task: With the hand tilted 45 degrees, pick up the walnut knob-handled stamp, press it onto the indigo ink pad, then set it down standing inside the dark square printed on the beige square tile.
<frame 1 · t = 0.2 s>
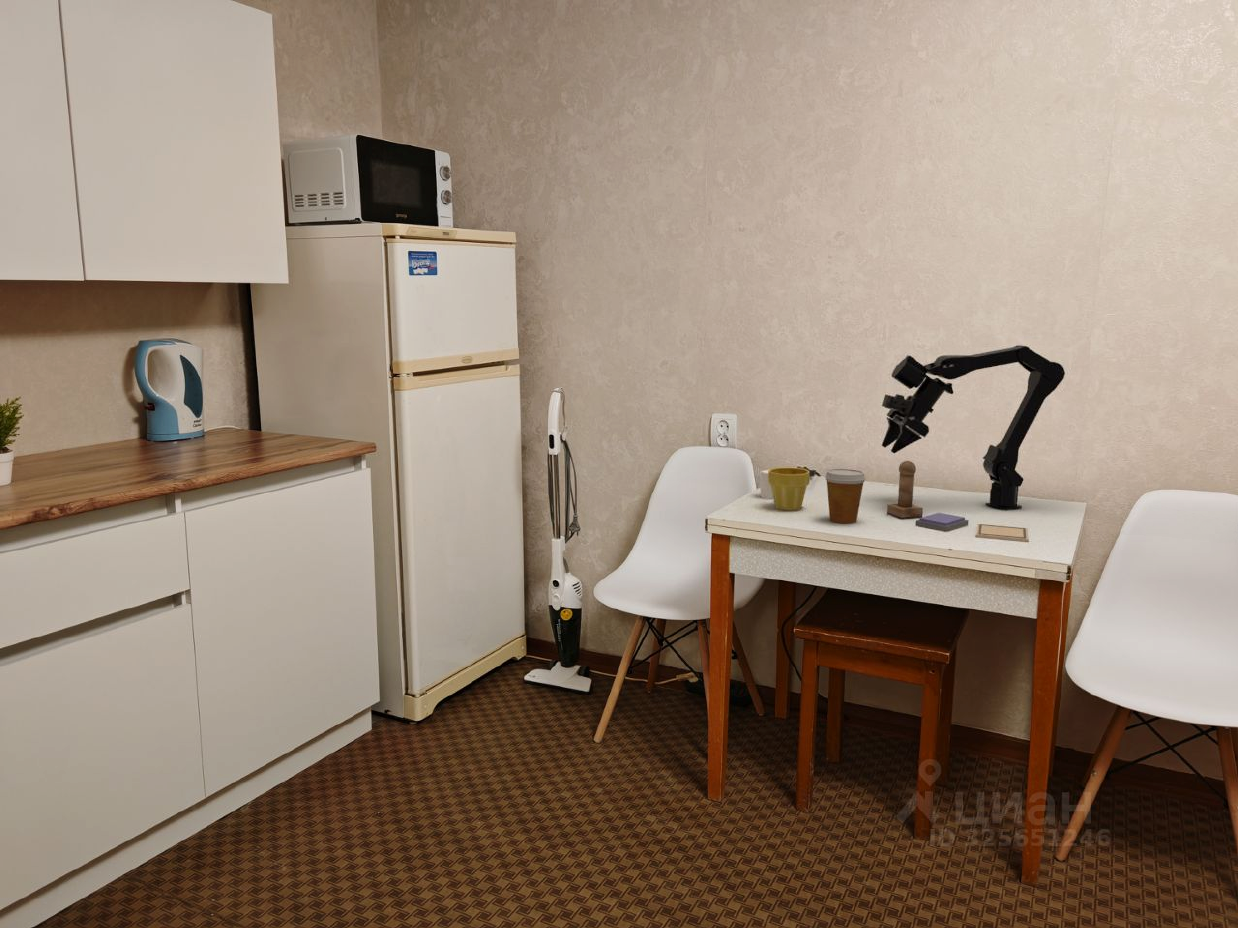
hand: (887, 449, 241), 15 cm above the table, tool tilted 35°, fingers open, 9 cm apart
disposable coffee cup: (842, 521, 227), on the table
beige square tile: (1001, 533, 215), on the table
ink pad: (941, 525, 223), on the table
plant pot: (787, 508, 240), on the table
white cube: (771, 497, 253), on the table
stamp: (904, 516, 232), on the table
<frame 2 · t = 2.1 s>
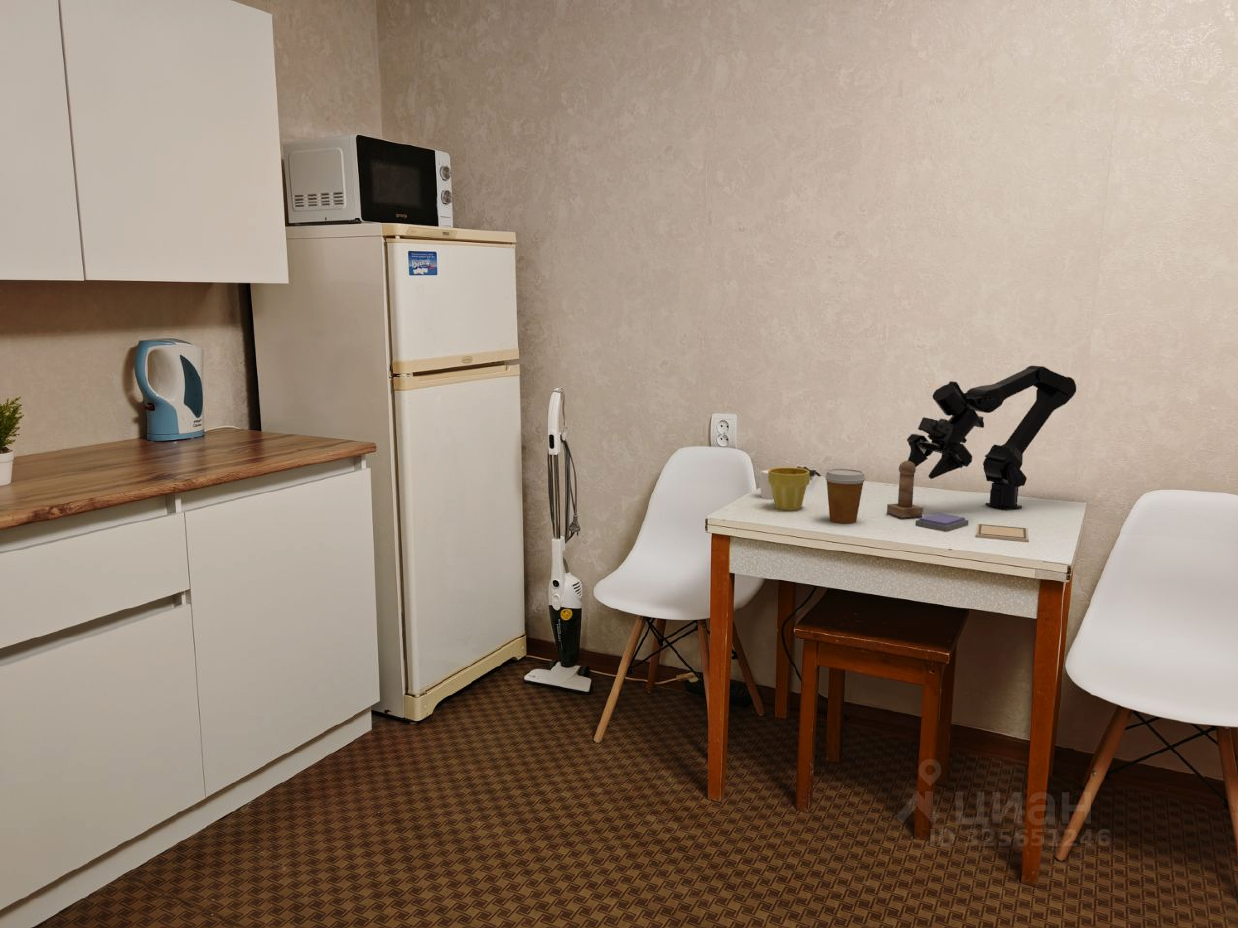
hand: (917, 474, 231), 10 cm above the table, tool tilted 45°, fingers open, 9 cm apart
nothing on the table moved.
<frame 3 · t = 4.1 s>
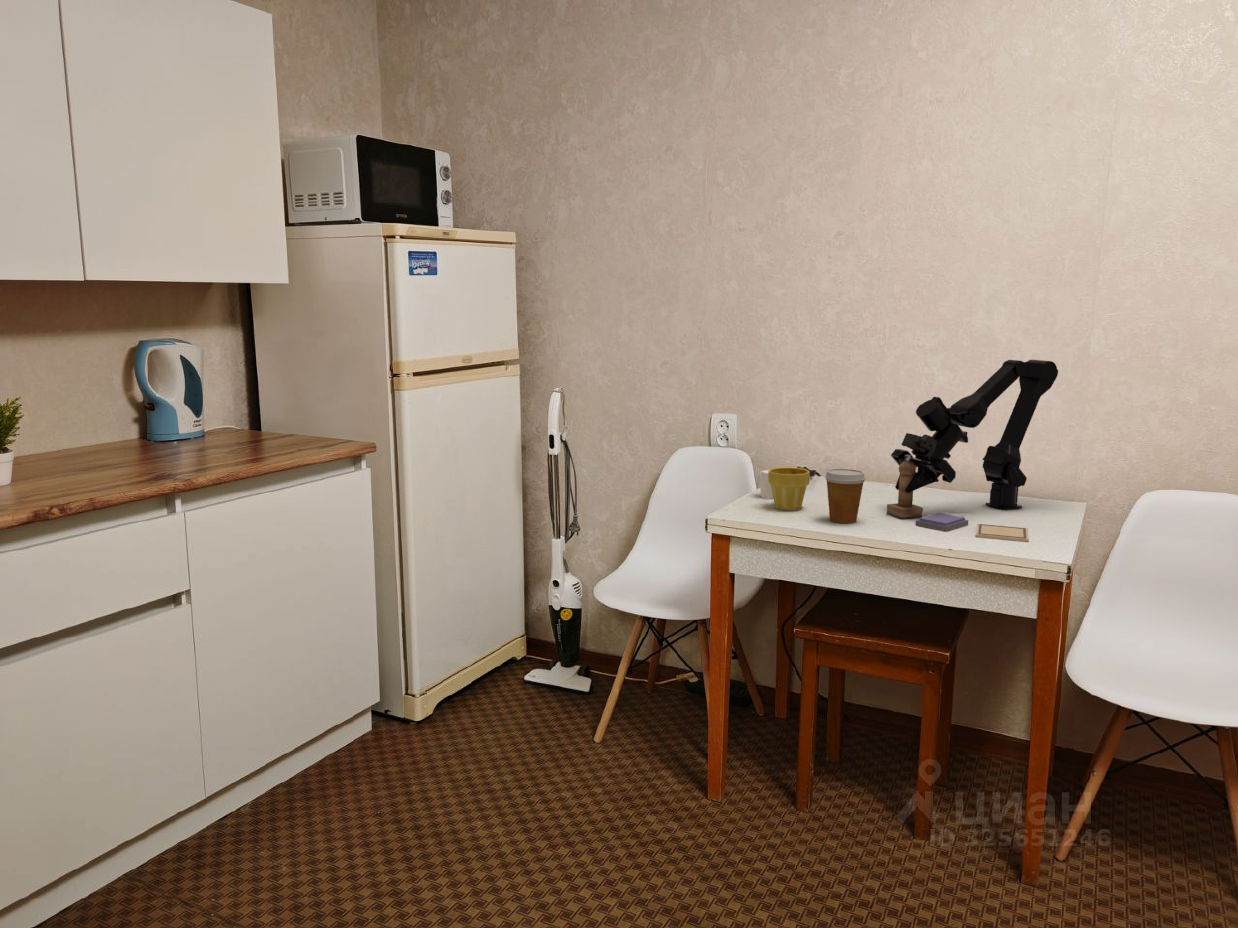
hand: (901, 490, 230), 7 cm above the table, tool tilted 45°, fingers closed on stamp, 3 cm apart
stamp: (904, 516, 232), on the table, touching gripper
everything else where it was.
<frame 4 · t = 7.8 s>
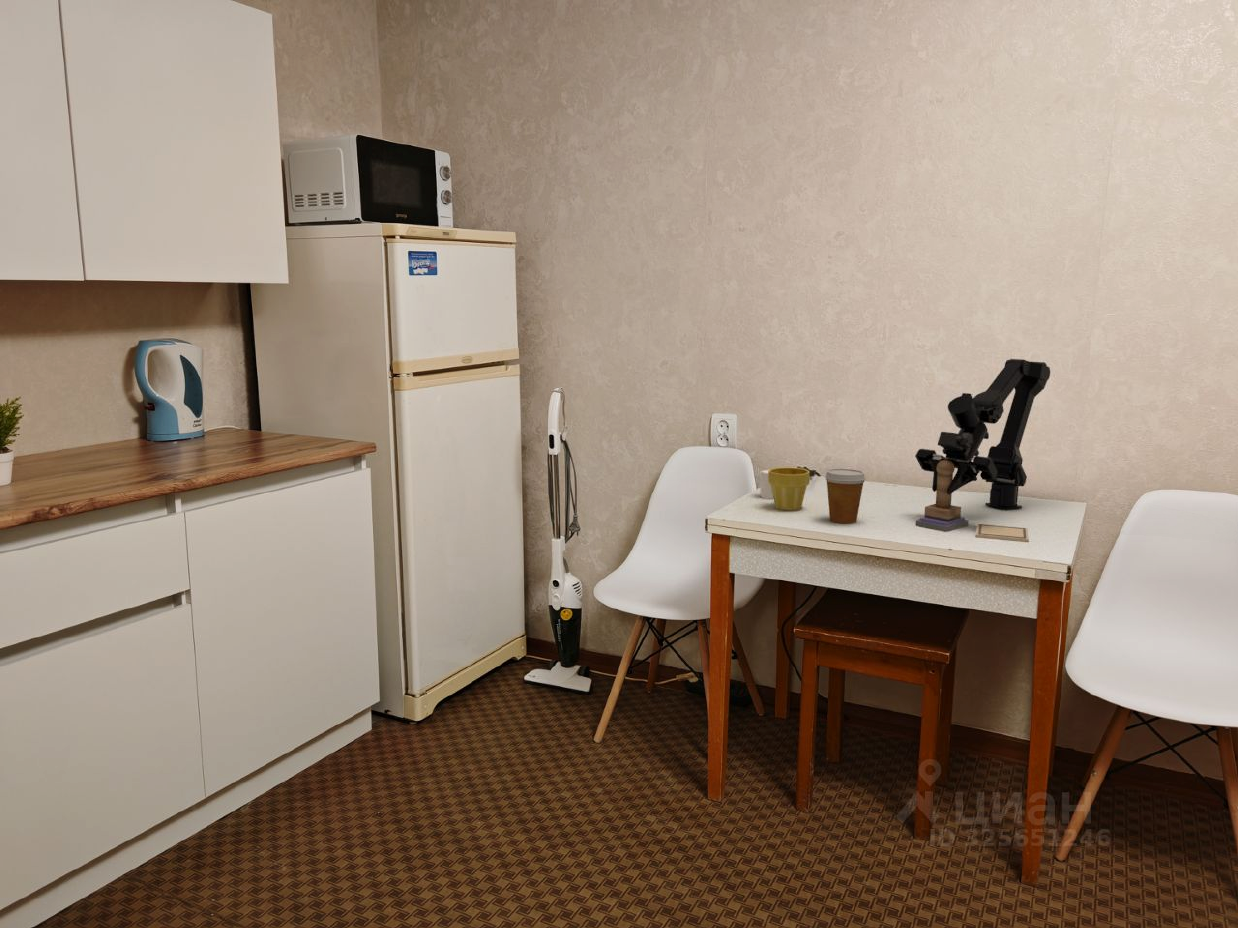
hand: (940, 491, 220), 8 cm above the table, tool tilted 45°, fingers closed on stamp, 3 cm apart
stamp: (942, 517, 222), point 2 cm above the table, touching gripper, ink pad
everything else where it was.
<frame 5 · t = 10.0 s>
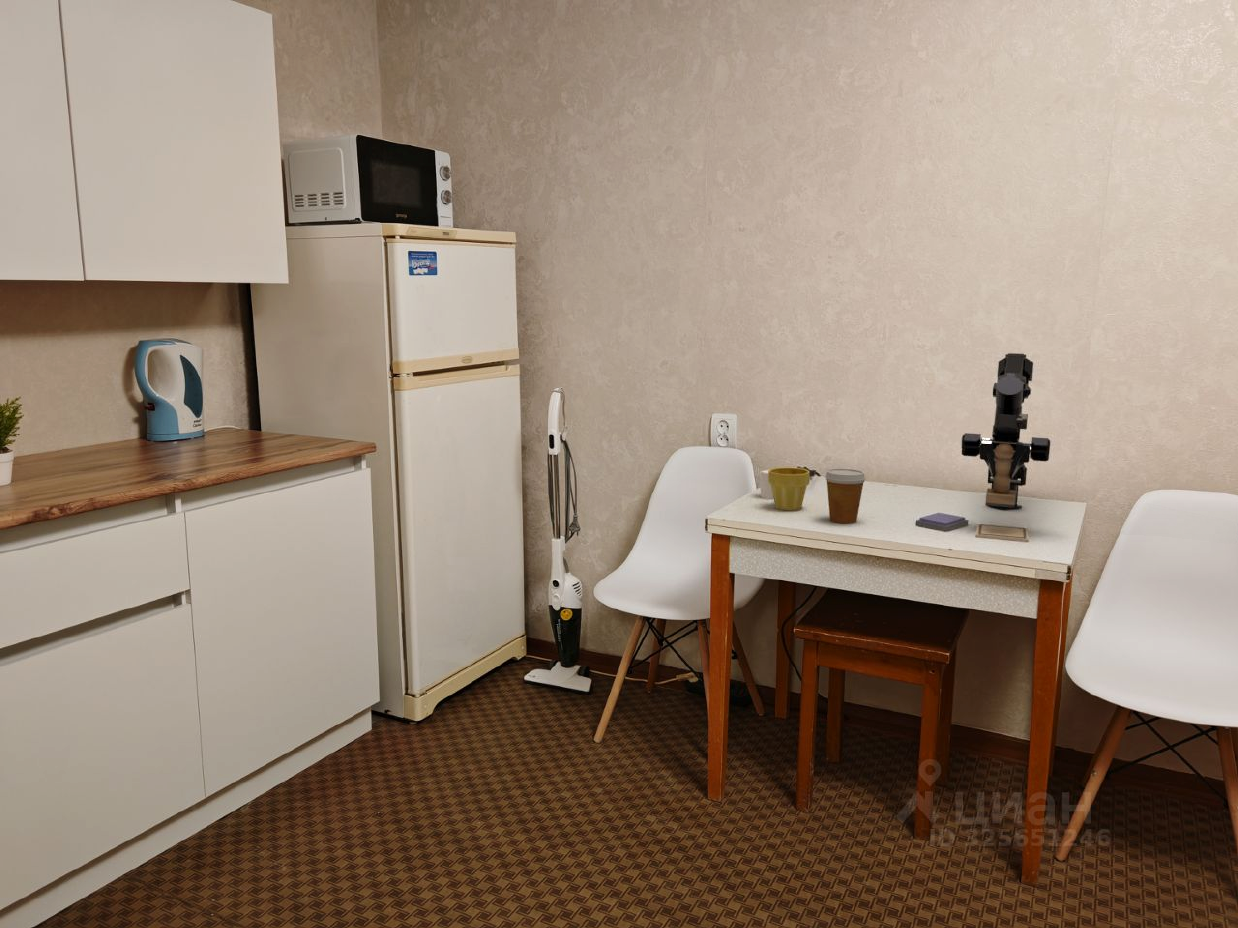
hand: (1002, 476, 211), 13 cm above the table, tool tilted 45°, fingers closed on stamp, 3 cm apart
stamp: (1000, 503, 214), point 7 cm above the table, touching gripper
everything else where it was.
when the fingers open (8 cm above the table, at t = 11.7 s): stamp stays where it is, resting on beige square tile.
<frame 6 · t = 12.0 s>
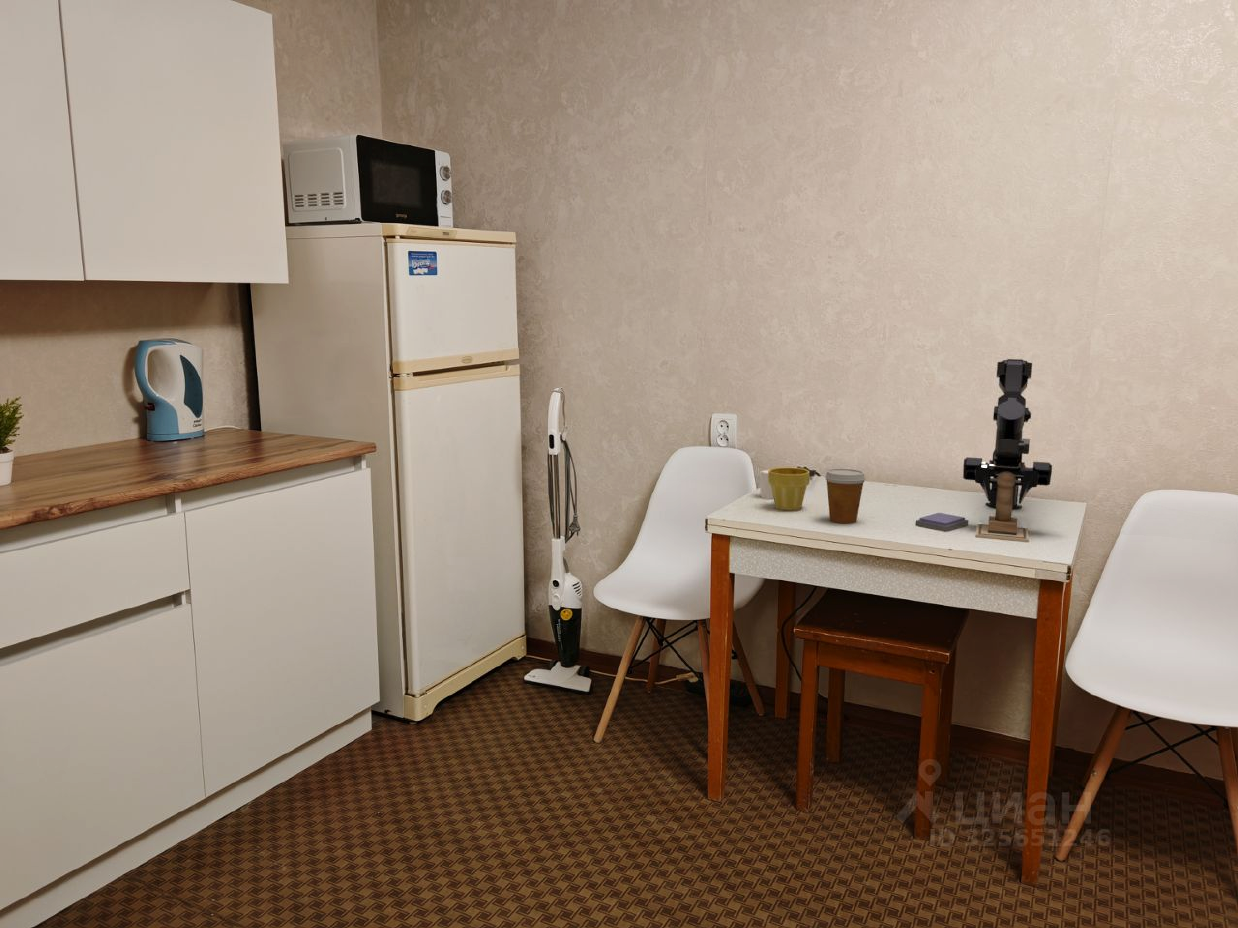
hand: (1004, 501, 212), 8 cm above the table, tool tilted 45°, fingers open, 6 cm apart
stamp: (1002, 530, 215), point 1 cm above the table, touching beige square tile
everything else where it was.
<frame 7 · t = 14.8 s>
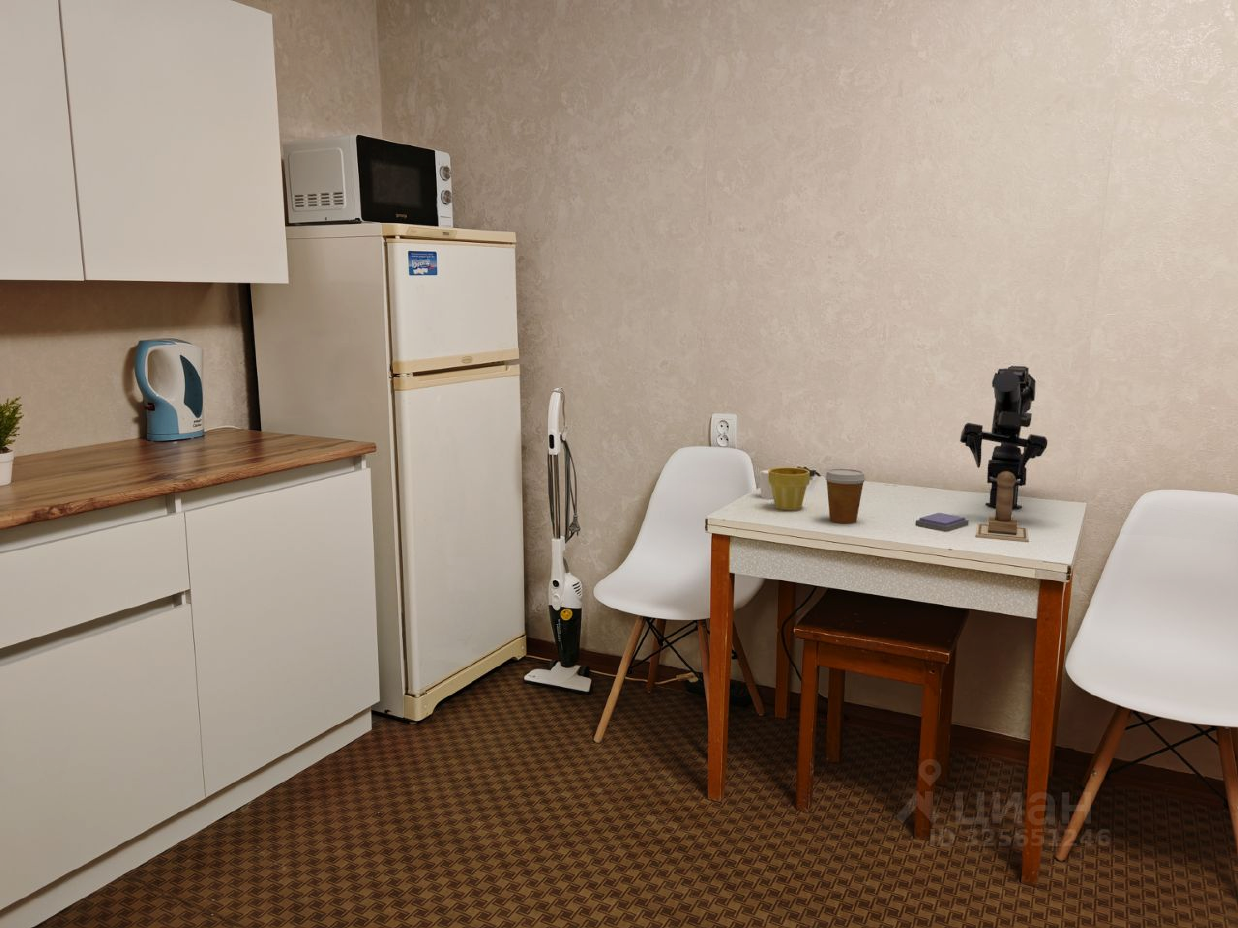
hand: (999, 470, 221), 13 cm above the table, tool tilted 35°, fingers open, 9 cm apart
nothing on the table moved.
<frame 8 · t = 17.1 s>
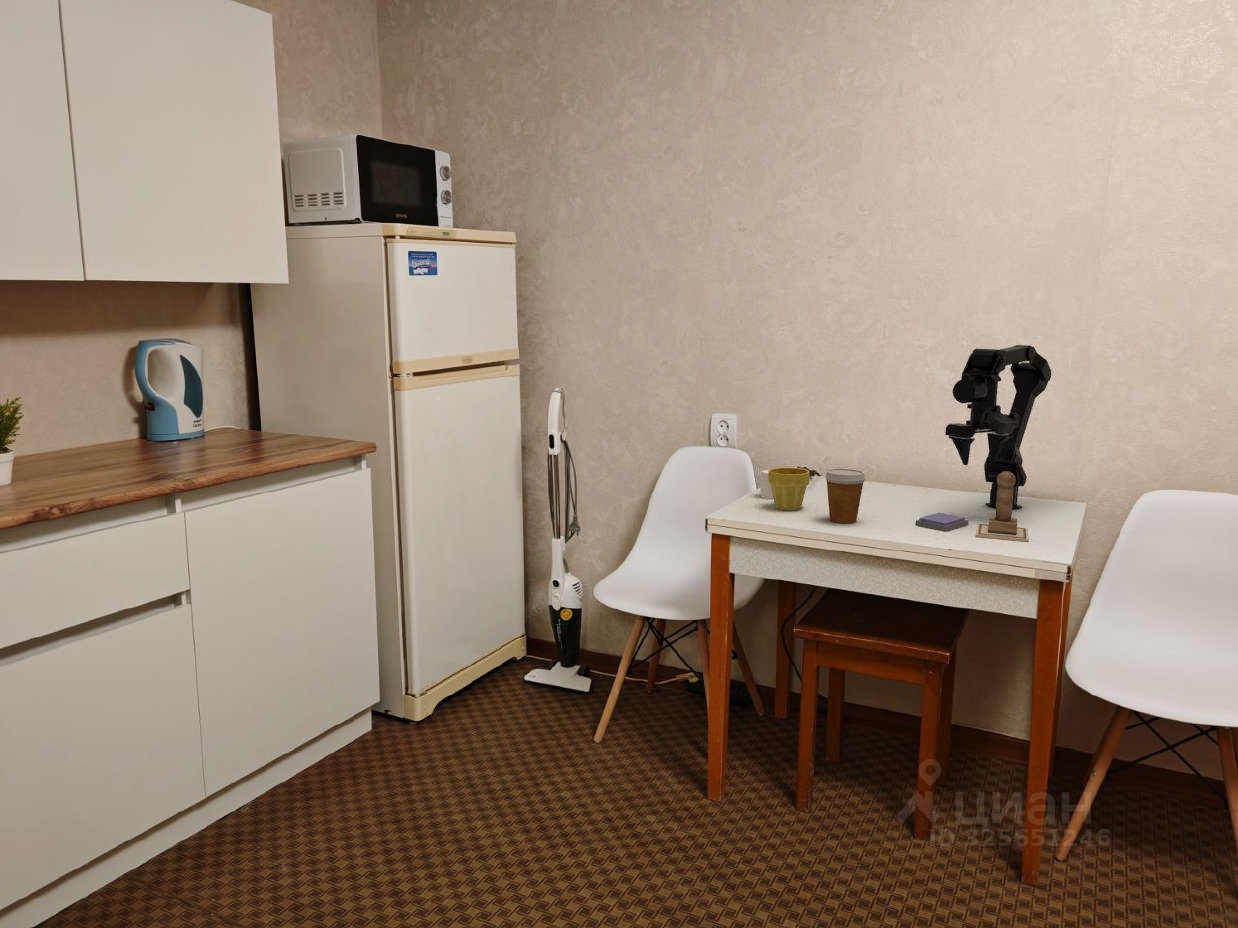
hand: (979, 463, 231), 13 cm above the table, tool pointing down, fingers open, 9 cm apart
nothing on the table moved.
at the end: stamp 0.3 cm off-centre on the beige square tile, point 0.6 cm above the beige square tile's base; stamp tilted 0°; the gripper is holding nothing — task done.
